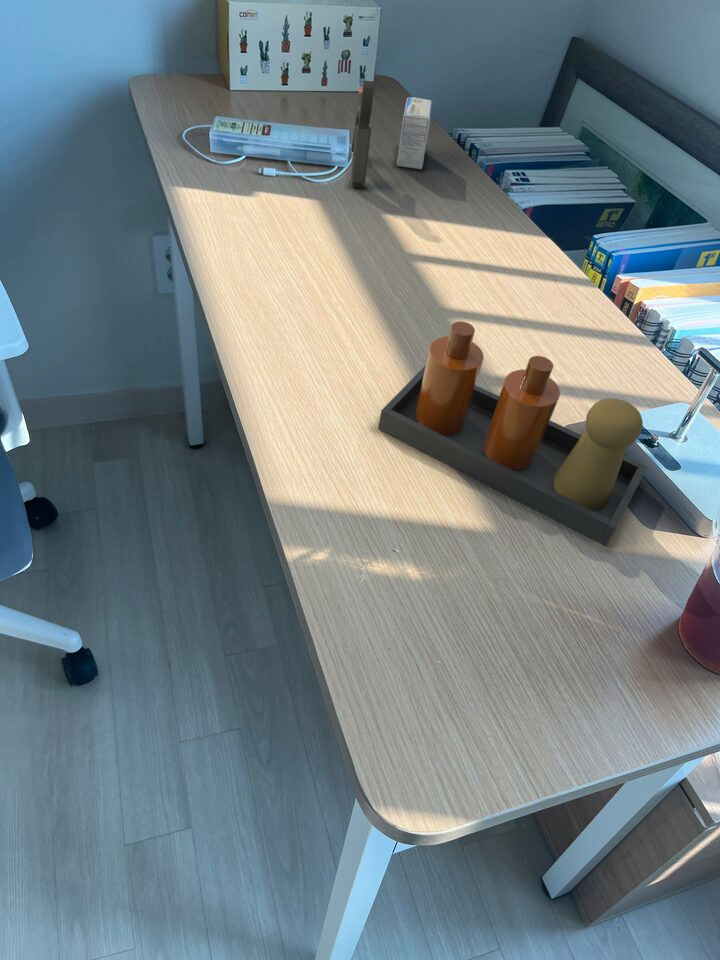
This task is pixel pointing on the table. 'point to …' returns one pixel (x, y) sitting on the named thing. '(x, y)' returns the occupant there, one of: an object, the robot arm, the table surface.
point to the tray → (521, 484)
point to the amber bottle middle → (522, 415)
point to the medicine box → (414, 133)
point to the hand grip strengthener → (362, 135)
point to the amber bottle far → (449, 380)
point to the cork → (599, 453)
